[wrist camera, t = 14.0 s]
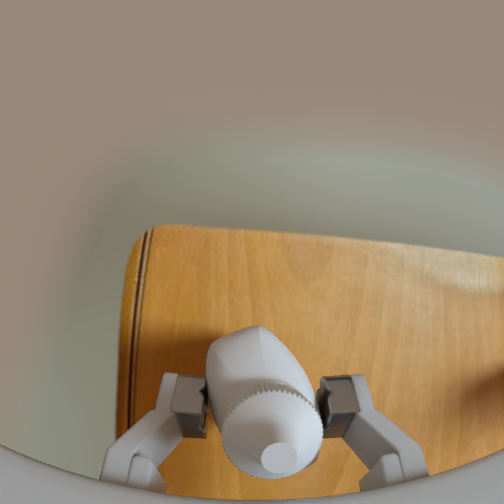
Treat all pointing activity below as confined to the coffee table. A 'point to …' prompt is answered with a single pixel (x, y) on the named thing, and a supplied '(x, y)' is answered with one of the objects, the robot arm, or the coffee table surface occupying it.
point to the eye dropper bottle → (262, 404)
